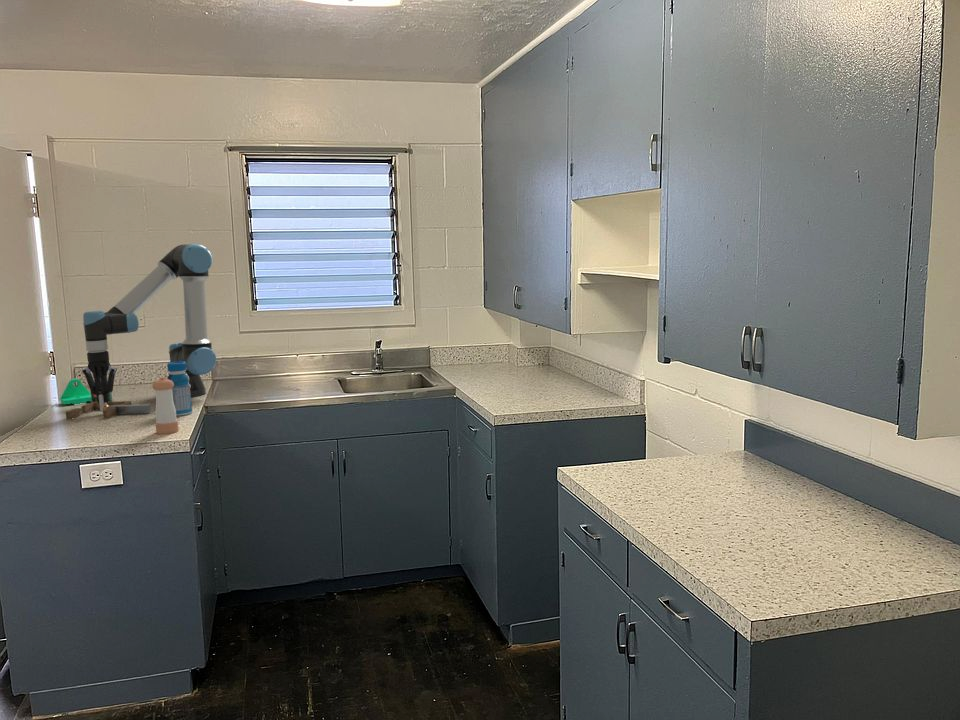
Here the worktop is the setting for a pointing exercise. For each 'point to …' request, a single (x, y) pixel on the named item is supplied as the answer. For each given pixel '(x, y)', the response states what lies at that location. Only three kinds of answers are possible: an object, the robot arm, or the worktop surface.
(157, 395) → the pepper shaker
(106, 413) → the frame
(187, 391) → the beverage bottle
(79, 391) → the camera mount
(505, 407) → the worktop surface
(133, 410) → the bar
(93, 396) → the canned tomato
